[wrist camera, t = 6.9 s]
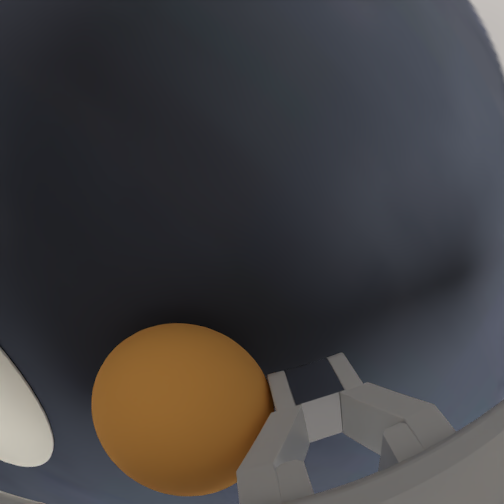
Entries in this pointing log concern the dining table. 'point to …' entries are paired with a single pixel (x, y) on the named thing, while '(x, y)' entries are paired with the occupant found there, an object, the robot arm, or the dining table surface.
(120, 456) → the ball
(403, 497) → the robot arm
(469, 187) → the dining table surface
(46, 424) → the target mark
